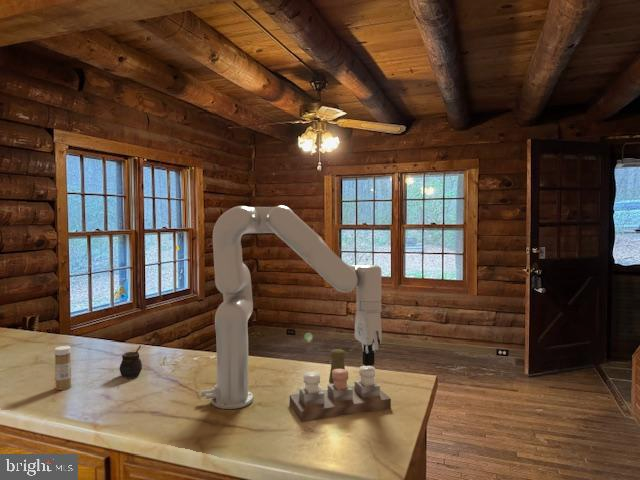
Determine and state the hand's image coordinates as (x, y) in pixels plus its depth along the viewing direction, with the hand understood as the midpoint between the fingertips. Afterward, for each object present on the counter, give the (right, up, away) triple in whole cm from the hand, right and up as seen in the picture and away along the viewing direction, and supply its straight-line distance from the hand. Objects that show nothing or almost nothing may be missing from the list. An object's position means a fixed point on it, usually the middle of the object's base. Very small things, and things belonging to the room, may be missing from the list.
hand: (368, 364), depth 132 cm
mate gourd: (-82, -10, +20) cm, 85 cm away
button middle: (-9, -6, -3) cm, 11 cm away
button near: (-17, -6, -6) cm, 19 cm away
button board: (-9, -12, -2) cm, 15 cm away
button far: (0, -6, 0) cm, 6 cm away
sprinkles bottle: (-99, -10, +9) cm, 100 cm away
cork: (-9, -11, +18) cm, 23 cm away
